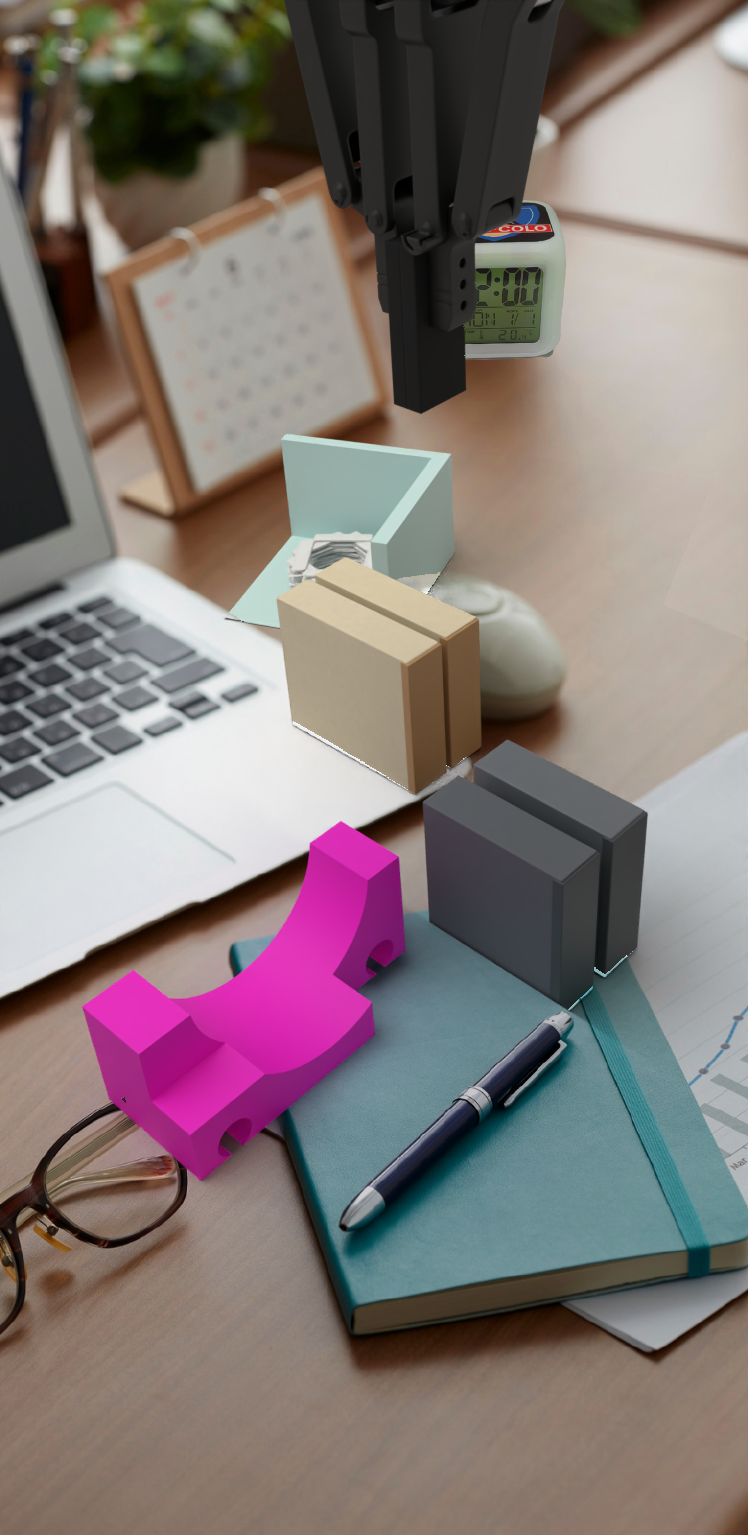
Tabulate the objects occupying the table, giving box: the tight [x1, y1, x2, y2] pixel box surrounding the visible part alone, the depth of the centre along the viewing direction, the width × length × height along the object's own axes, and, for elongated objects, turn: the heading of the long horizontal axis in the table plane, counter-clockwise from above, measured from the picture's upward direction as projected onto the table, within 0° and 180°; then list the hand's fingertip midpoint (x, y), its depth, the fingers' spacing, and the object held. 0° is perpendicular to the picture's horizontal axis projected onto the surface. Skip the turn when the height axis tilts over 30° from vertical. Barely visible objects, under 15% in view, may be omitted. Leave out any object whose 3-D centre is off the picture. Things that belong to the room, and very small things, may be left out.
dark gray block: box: [473, 739, 649, 974], centre depth 68 cm, size 3×8×9 cm, turn 46°
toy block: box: [81, 820, 407, 1182], centre depth 63 cm, size 15×6×8 cm, turn 136°
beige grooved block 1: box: [276, 579, 448, 796], centre depth 79 cm, size 3×10×9 cm, turn 46°
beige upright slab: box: [315, 557, 482, 769], centre depth 81 cm, size 3×10×9 cm, turn 46°
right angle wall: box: [228, 433, 455, 629], centre depth 94 cm, size 12×12×8 cm
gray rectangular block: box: [422, 775, 600, 1011], centre depth 66 cm, size 3×8×9 cm, turn 46°
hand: (430, 396), depth 57 cm, fingers closed
